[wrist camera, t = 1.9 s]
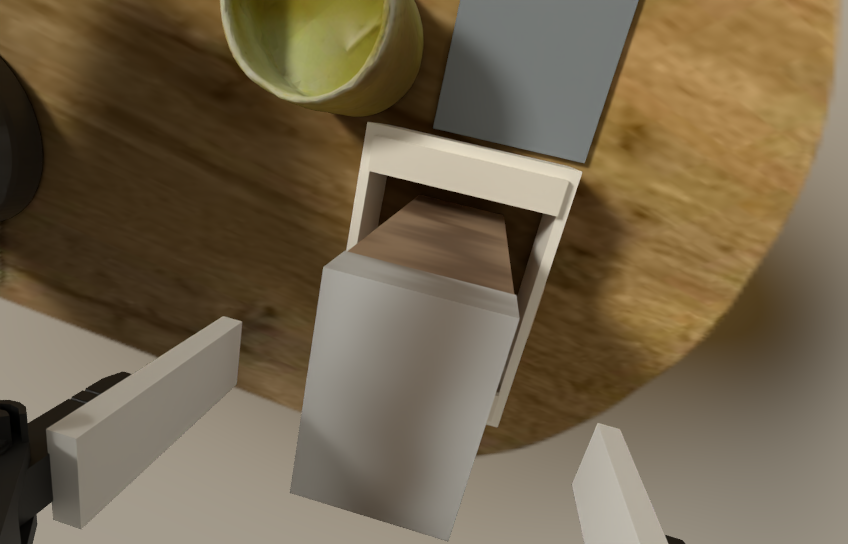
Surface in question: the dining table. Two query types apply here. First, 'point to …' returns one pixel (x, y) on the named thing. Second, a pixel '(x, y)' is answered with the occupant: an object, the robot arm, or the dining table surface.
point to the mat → (532, 72)
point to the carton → (478, 177)
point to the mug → (327, 50)
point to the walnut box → (407, 365)
